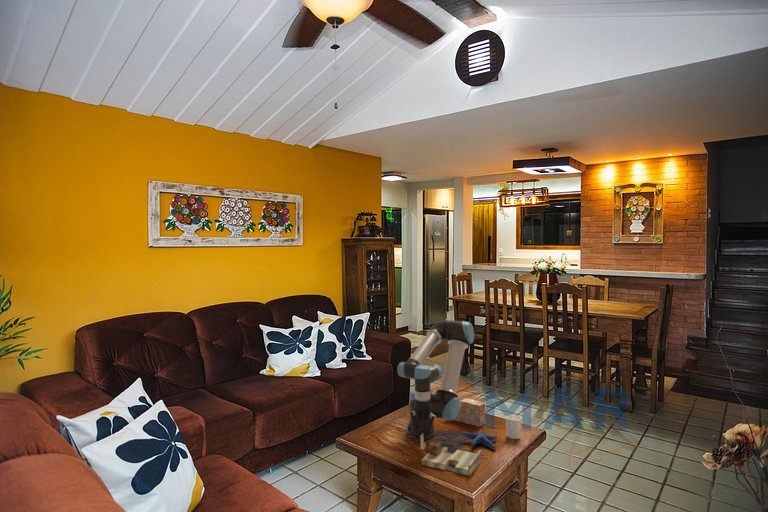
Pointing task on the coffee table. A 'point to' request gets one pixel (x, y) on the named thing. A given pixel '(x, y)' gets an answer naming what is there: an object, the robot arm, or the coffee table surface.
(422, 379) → the robot arm
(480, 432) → the starfish
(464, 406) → the stack of blocks
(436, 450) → the walnut cube
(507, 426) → the white cup
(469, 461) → the board
